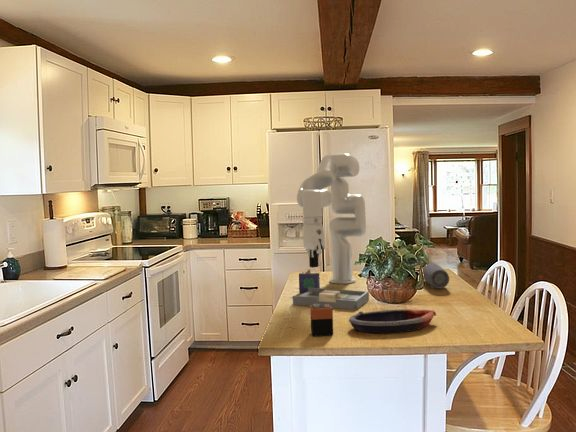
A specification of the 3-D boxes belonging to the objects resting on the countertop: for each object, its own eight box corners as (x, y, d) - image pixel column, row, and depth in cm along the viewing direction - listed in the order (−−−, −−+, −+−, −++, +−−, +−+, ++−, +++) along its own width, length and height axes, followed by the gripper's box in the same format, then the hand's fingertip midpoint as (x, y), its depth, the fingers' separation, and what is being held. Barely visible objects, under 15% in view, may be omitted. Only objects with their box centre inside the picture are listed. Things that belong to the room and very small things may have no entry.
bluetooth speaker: (417, 280, 243) (417, 260, 242) (437, 280, 243) (437, 259, 242) (429, 291, 220) (428, 268, 220) (450, 290, 220) (450, 268, 219)
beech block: (325, 297, 207) (324, 290, 207) (340, 298, 205) (339, 291, 204) (319, 301, 202) (318, 293, 201) (334, 302, 199) (334, 294, 199)
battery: (310, 332, 168) (310, 303, 167) (331, 331, 168) (330, 302, 167) (312, 336, 163) (311, 306, 163) (333, 335, 164) (332, 305, 163)
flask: (319, 292, 226) (319, 268, 225) (320, 293, 223) (319, 269, 222) (299, 292, 227) (298, 269, 226) (299, 294, 224) (298, 270, 223)
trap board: (308, 295, 221) (308, 287, 220) (368, 299, 209) (368, 291, 209) (293, 304, 206) (292, 295, 205) (356, 309, 194) (356, 300, 194)
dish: (343, 324, 176) (343, 310, 176) (427, 318, 181) (427, 304, 180) (355, 338, 161) (355, 323, 161) (447, 331, 165) (446, 316, 165)
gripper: (330, 221, 195) (331, 268, 197) (311, 219, 209) (313, 263, 210) (313, 222, 192) (314, 270, 193) (295, 220, 205) (297, 265, 207)
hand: (314, 266), depth 202 cm, fingers closed
